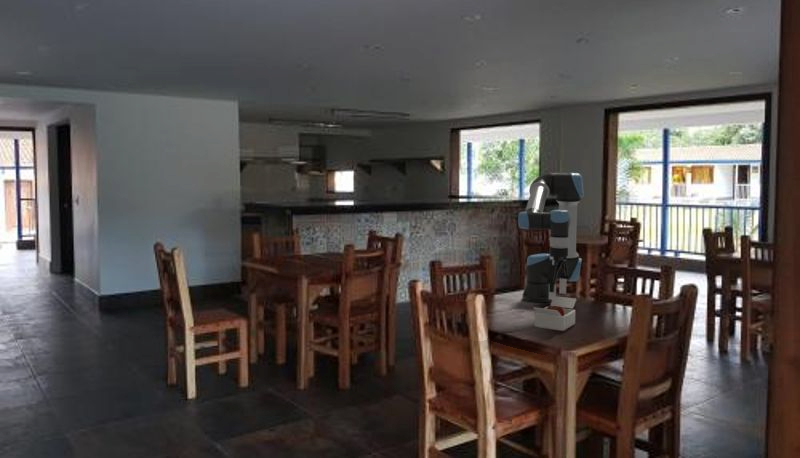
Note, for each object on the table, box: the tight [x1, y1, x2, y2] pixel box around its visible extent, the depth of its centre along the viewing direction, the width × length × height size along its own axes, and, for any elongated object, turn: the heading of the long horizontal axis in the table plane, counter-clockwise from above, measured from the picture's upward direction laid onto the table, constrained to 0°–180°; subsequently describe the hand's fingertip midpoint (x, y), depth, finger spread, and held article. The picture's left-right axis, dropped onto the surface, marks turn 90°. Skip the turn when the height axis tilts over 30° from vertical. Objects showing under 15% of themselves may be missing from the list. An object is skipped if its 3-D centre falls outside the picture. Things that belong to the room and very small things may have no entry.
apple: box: [547, 305, 564, 316], centre depth 267 cm, size 8×8×8 cm
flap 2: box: [549, 295, 577, 310], centre depth 276 cm, size 6×10×1 cm
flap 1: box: [532, 306, 561, 316], centre depth 258 cm, size 6×10×1 cm, turn 58°
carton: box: [534, 306, 576, 332], centre depth 267 cm, size 15×13×6 cm
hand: (557, 296), depth 268 cm, fingers open, 13 cm apart
